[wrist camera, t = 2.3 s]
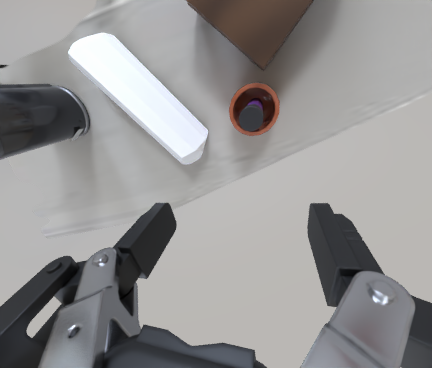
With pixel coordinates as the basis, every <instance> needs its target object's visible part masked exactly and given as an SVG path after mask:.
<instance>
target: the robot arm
mask: <svg viewBox="0 0 432 368" xmlns="http://www.w3.org/2000/svg"><path fill="white" fill-rule="evenodd" d="M6 66H8V65H0V68H5V67H6ZM88 129H89V117H88V113H87V111H86V109H85V107H84V105H83V104H82V102H81V101H80V99H79V98H78V97H77V96H76V95H75V94H74V93H72V92H71V91H70V90H68V89H66V88H64V87H61V86H52V85H50V84H17V85H0V160H1V159H4V158H7V157H11V156H14V155H17V154H21V153H24V152H27V151H31V150H34V149H37V148H40V147H44V146H47V145H50V144H54V143H57V142H60V141H64V140H67V139H70V138H72V140H76V139H77V137H79V136H82V135H84V134H86V133H87V131H88ZM72 140H71V141H72ZM175 230H176V220H175V217H174V214H173V212H172V209H171V206H170V204H169V203H156V204H154V206H153V207H152V208H151V209H150V210H149V211H148V212H146V213H145V214H143V215H142V216H141V217H140V218H139V219H138V220H137V221H136V223H135V224H134V225H133V226H132V227H131V228H130V229H129V230H128V231H127V232H126V233H125V235H124V236H123V237H122V238H121V239H120V240H119V241H118V242H117V243H116V245H115V246H114V247H113V248H105V249H102V250H100V251H98V252H96V253H95V254H94V255H92V256H91V257H90V258H89V259H88V260H87V261H82V262H77V263H76V262H75V261H74V260H73V259H72V257H70V256H63V257H60V258H58V259H56V260H54V261H52V262H51V263H49V264H48V265H47V266H45V267H44V268H43V269H42V270H41V271H40V272H39V273H37V275H35V276H34V277H33V278H32V279H31V280H30V281H29V282H28V283H26V284H25V285H24V286H23V287H22V288H21V289H20V290H18V291H17V292H16V293H15V294H14V295H13V296H12V297H11V298H10V299H8V300H7V301H6V302H5V303H4V304H3V305H2V306H1V307H0V368H267V367H266V366H264V365H263V364H262V363H260V362H258V361H257V360H256V357H255V350H252V349H248V348H243V347H239V346H235V345H230V344H226V343H217V344H208V345H199V346H190V345H188V344H187V343H185V342H184V341H183V340H181V339H180V338H178V337H177V336H175V335H174V334H172V333H171V332H170V331H168V330H165V329H161V328H157V327H152V326H148V325H143V327H142V329H141V328H140V326H139V320H138V289H137V283H136V281H137V279H138V278H144V279H147V278H148V277H149V275H150V273H151V271H152V270H153V268H154V266H155V265H156V263H157V261H158V259H159V258H160V256H161V254H162V252H163V251H164V249H165V248H166V246H167V244H168V243H169V241H170V239H171V237H172V236H173V234H174V232H175ZM308 238H309V242H310V245H311V249H312V252H313V256H314V259H315V263H316V267H317V270H318V274H319V277H320V281H321V284H322V288H323V292H324V295H325V299H326V302H327V305H328V306H332V307H337V308H336V310H335V312H334V314H333V316H332V317H331V319H330V321H329V322H328V323H326V324H325V325H324V327H323V328H322V330H321V332H320V333H319V335H318V337H317V339H316V340H315V342H314V344H313V345H312V347H311V349H310V351H309V353H308V354H307V356H306V358H305V360H304V362H303V363H302V365H301V367H300V368H400V367H402V368H432V303H430V302H427V301H424V300H421V299H419V298H416V297H414V296H412V295H410V294H409V293H408V291H407V290H406V289H405V288H404V287H403V286H402V285H400V284H399V283H398V282H396V281H395V280H393V279H392V278H390V277H388V276H385V274H384V273H383V271H382V270H381V268H380V267H379V265H378V264H377V262H376V260H375V259H374V257H373V256H372V254H371V252H370V250H369V249H368V247H367V246H366V244H365V242H364V241H362V237H361V236H360V234H359V233H358V232H357V230H356V228H355V226H354V225H353V223H352V222H351V221H350V220H349V219H348V218H346V217H345V216H344V215H342V214H334V213H333V211H332V209H331V207H330V205H329V204H328V203H311V204H310V209H309V218H308ZM53 296H55V297H56V298H57V299H58V300H59V301H60V302H61V303H62V304H61V305H60V307H59V308H58V309H57V310H56V311H55V312H54V313H53V315H52V316H51V317H50V318H49V320H48V321H47V322H46V323H45V324H44V325H43V326H42V328H41V329H40V330H39V331H38V332H37V333H36V335H35V336H34V337H33V338H31V337H29V336H28V335H27V333H26V330H27V327H28V325H29V323H30V321H31V320H32V319H33V318H34V317H35V316H36V315H37V314H38V313H39V312H40V311H41V309H42V308H43V307H44V306H45V305H46V304H47V303H48V302H49V301H50V300H51V299H52V298H53Z"/></svg>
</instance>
